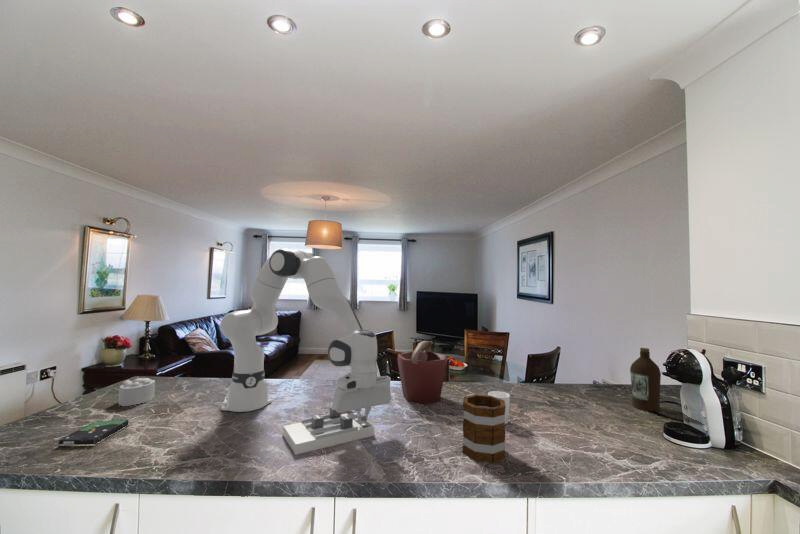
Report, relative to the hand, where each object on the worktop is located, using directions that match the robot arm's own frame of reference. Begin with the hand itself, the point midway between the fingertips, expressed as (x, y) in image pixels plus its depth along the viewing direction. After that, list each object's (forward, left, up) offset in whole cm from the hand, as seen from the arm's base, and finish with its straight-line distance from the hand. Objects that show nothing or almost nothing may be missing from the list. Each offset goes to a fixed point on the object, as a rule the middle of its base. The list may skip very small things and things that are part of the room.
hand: (362, 420), depth 114 cm
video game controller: (-19, +2, -5) cm, 20 cm away
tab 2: (0, -6, -1) cm, 6 cm away
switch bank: (-5, -10, -4) cm, 12 cm away
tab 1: (-10, -6, -1) cm, 12 cm away
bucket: (-20, +40, -5) cm, 45 cm away
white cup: (+15, +49, -5) cm, 52 cm away
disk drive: (-41, -75, -5) cm, 85 cm away
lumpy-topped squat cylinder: (-75, -68, -5) cm, 101 cm away
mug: (+26, +28, -5) cm, 39 cm away
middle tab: (-5, -14, -1) cm, 15 cm away
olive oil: (+36, +116, -5) cm, 122 cm away
